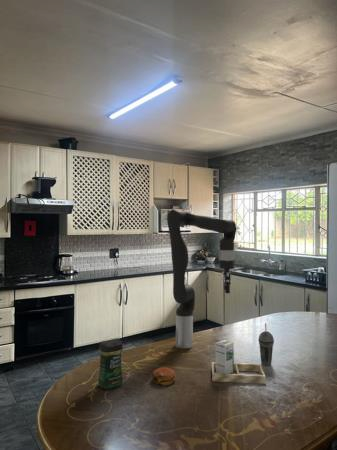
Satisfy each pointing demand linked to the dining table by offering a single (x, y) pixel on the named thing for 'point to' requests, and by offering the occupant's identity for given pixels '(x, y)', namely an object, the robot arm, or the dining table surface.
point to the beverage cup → (266, 347)
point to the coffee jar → (110, 363)
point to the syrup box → (224, 357)
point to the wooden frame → (238, 377)
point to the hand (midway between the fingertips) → (226, 291)
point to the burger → (164, 376)
